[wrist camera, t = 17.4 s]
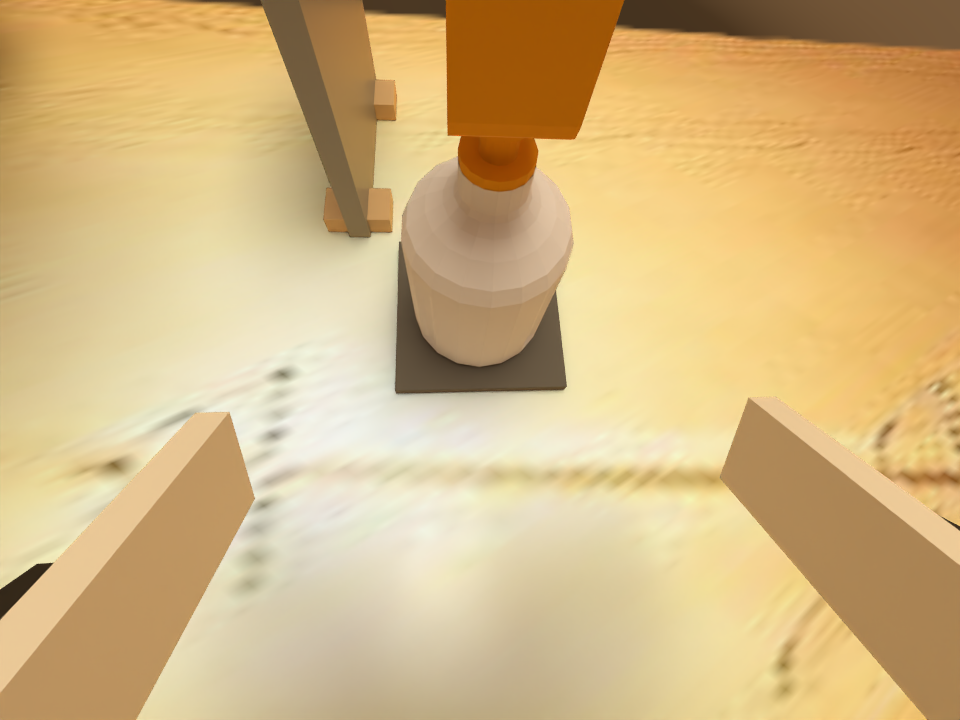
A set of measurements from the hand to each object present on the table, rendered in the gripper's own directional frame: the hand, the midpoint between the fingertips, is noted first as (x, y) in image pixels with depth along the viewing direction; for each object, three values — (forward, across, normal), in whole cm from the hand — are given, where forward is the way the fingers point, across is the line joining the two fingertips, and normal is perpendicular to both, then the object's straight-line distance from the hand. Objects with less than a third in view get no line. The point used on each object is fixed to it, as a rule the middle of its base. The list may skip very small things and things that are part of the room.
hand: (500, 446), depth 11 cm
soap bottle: (+21, +1, -4) cm, 21 cm away
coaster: (+21, +1, -4) cm, 22 cm away
